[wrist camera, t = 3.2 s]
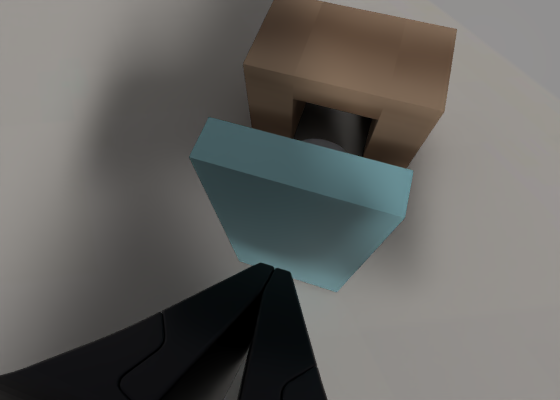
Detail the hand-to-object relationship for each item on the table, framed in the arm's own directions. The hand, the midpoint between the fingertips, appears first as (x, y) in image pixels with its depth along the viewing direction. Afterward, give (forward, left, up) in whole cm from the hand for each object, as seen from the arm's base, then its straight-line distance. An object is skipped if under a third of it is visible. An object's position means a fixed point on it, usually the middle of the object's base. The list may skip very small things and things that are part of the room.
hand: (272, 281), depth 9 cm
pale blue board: (+4, +3, -8) cm, 9 cm away
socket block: (+9, +8, -8) cm, 14 cm away
